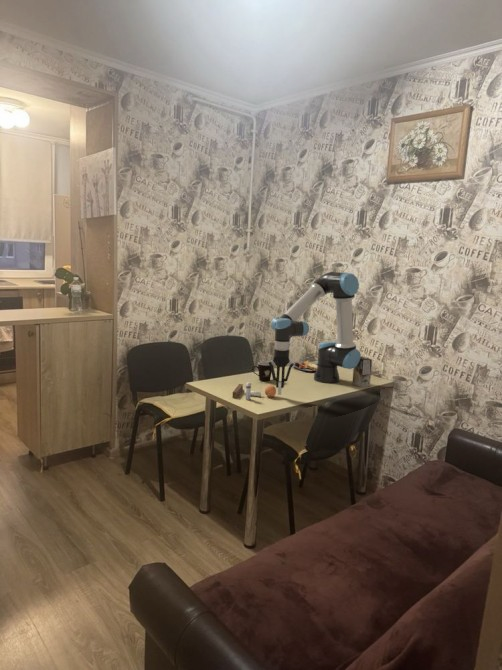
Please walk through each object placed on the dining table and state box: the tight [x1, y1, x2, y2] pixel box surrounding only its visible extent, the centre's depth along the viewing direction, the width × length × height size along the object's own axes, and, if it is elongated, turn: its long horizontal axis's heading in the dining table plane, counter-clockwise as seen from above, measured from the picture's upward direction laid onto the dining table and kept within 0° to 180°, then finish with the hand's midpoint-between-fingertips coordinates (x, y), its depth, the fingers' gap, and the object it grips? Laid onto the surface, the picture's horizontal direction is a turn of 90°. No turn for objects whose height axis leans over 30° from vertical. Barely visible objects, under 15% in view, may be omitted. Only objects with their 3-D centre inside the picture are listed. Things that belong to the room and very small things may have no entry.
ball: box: [264, 384, 277, 398], centre depth 239 cm, size 6×6×6 cm
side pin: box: [245, 381, 252, 401], centre depth 233 cm, size 2×2×8 cm
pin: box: [243, 389, 262, 397], centre depth 240 cm, size 2×2×8 cm
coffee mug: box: [251, 361, 272, 383], centre depth 271 cm, size 12×9×10 cm
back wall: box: [232, 383, 244, 399], centre depth 243 cm, size 2×16×3 cm, turn 170°
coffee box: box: [352, 355, 373, 388], centre depth 268 cm, size 9×6×16 cm
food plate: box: [292, 359, 318, 372], centre depth 306 cm, size 25×23×4 cm
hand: (279, 393), depth 239 cm, fingers closed
